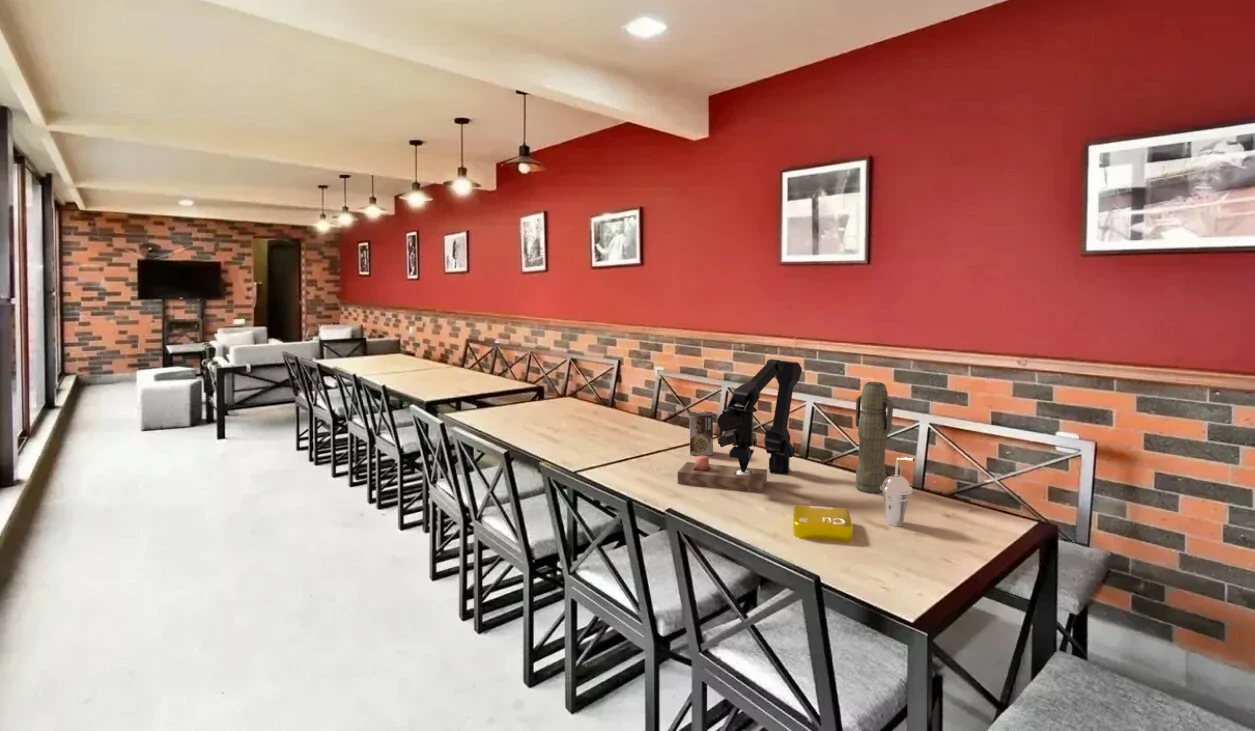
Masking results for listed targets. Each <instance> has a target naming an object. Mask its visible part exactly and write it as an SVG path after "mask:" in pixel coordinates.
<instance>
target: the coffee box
mask: <svg viewBox="0 0 1255 731" xmlns="http://www.w3.org/2000/svg"><path fill="white" fill-rule="evenodd" d="M713 420H714V415H713V411H690V412H689V456H714V425H713V424H714V421H713Z"/></svg>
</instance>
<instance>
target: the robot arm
mask: <svg viewBox="0 0 1255 731" xmlns="http://www.w3.org/2000/svg"><path fill="white" fill-rule="evenodd" d="M802 369H803V368H802V366H801V364H800V363H799V362H797V361H788V360H780V359H776V358H775V359H773V358H771V359H768V360H767V361H766V364H764V366H763V367H762V368H761V369H760V370H759V371H758V372H757V373H756V374H755V375H754V376H753V377H752V378H751V379H750V380H749V381H748V382H746V383H743V384H740V385H739V386H737V388H735V389H734V390H733V392H732V394H731V396H730V399H729V401H728V403H727V405H726V408H725V409H723V410H722V412H721V413H720V414H719V416H718V418H717V422H716V423H717V427H718V428H719V430H721V431H722V432H729V433H723V434H720V435H719V436H718V437H717V444H718V445H719V447H720V448H724V447H726V446H729V445H732V448H731V449H730V450H729V456H728V458H730V459H731V458H733V459H738V463H739V467H740V468H741V472H745V471H746V468H748V466H749V463H750V461H751V459H752V457H753V454H754V452H755V449H751V447H752V446H753V447H754V448H755V447H757V446H758V439H757V437H756V436H754V431H755V428H754V423H753V422H754V413H756V412H758V409H757V408H756V407H755V405H756V404H757V402H758V401H759V400H760V397H761V394H760V393H761V392H762V391H763V389H765V387H766V386H767V385H768V384H769V383H771V381H772V380H773V379H774V378H775V379H776V381H777V383H778V388H777V389H778V390H777V396H776V402H775V410H774V415H773V421H772V422H773V423H772V426H771V427H770V428H769V429H766V431H765V432H764V433H765V436H764V439H763V441H764V447H765V452H766V454H770V456H769V458H768V470H769V473H770V474H779V475H780V474H781V475H789V473H790V471H791V468H790V462H791V461H790V459H791V458H793V456H795V453H796V448H794V446H793V445H792V443H791V434H790V432H789V429H788V425H789V418H790V412H791V404H792V400H793V399H792V398H793V393H794V391H793V390H794V387H795V386H796V385H797V384H798V383H799V381H800V378H801V375H802V371H803V370H802ZM730 431H732V432H730Z"/></svg>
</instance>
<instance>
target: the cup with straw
mask: <svg viewBox="0 0 1255 731" xmlns="http://www.w3.org/2000/svg"><path fill="white" fill-rule="evenodd" d="M899 461H908V462H909V461H910V462H915V457H914V458H911V457H903V456H902V457H901V456H898V457H896V459H895V468H894V470H895V471H894V474H891V475H888V476H887V477H886V479H885V480H884V482H883V483H882V484H881V485H880V489H881V490H882V491H883V493H882V496H883V504H884V516H885V523H886V524H887V525H889V526H894V527H901V526H904V521H905V516H906V512H907V505H908V501H909V498H910V495H911V494H912V493H913V492H914V491H913V487H912V486H910V482H909V481H908V479H906V478H905V477H904V476H902V475H899Z"/></svg>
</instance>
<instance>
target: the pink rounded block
mask: <svg viewBox="0 0 1255 731" xmlns="http://www.w3.org/2000/svg"><path fill="white" fill-rule="evenodd" d="M709 459H710V458H709V455H695V463H696V470H697V471H708V470H709V464H710V462H709Z"/></svg>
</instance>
